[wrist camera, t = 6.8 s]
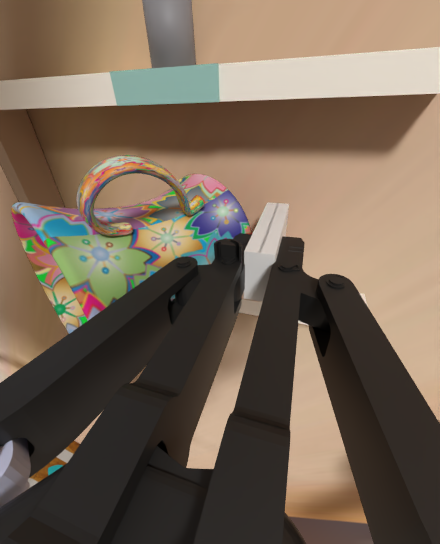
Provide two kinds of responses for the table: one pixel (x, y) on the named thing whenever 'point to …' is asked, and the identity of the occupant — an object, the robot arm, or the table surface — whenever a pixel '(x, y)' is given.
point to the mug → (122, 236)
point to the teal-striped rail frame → (194, 91)
